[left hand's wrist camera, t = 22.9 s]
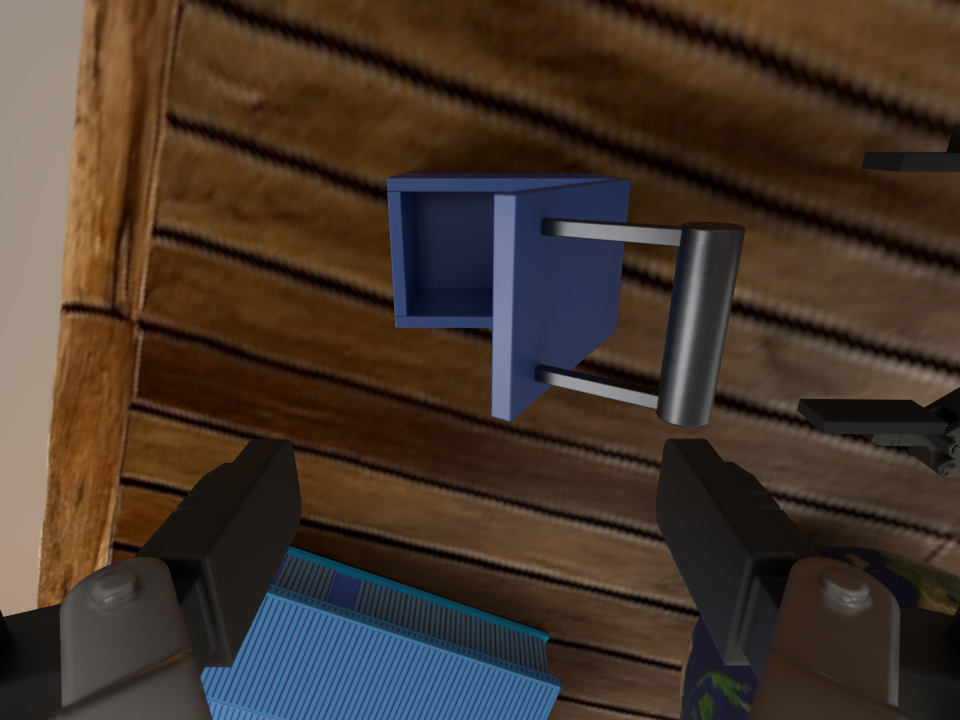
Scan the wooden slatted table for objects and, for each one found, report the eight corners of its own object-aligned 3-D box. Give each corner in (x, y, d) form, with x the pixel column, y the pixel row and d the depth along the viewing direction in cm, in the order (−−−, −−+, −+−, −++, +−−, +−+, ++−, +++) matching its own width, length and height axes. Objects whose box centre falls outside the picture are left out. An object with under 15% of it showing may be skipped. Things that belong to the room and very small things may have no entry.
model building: (154, 672, 61) (96, 765, 52) (204, 512, 53) (145, 590, 44) (464, 762, 67) (462, 860, 58) (552, 631, 59) (566, 721, 49)
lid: (490, 416, 24) (693, 474, 20) (493, 193, 21) (741, 205, 16) (601, 329, 36) (742, 353, 32) (615, 178, 33) (776, 182, 28)
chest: (411, 295, 45) (395, 327, 37) (405, 172, 41) (386, 177, 33) (583, 295, 45) (606, 328, 37) (593, 173, 41) (621, 178, 33)
